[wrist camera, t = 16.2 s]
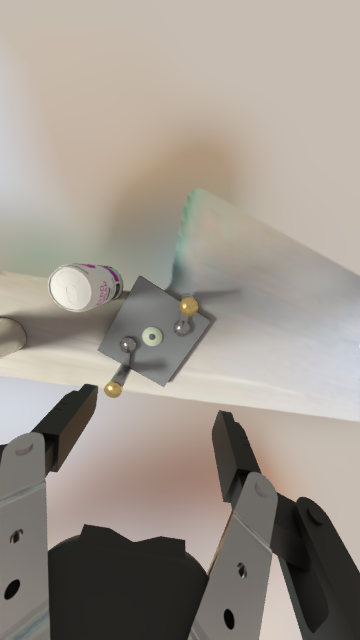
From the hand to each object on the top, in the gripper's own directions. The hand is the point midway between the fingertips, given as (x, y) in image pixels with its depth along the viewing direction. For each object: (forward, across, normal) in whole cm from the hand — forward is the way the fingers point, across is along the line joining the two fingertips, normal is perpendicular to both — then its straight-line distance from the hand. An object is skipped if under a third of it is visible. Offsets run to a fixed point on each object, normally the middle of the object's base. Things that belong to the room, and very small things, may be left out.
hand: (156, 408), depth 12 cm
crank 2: (+32, -3, +1) cm, 32 cm away
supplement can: (+34, +17, -2) cm, 38 cm away
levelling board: (+34, +4, +8) cm, 35 cm away
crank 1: (+32, +9, +15) cm, 37 cm away
